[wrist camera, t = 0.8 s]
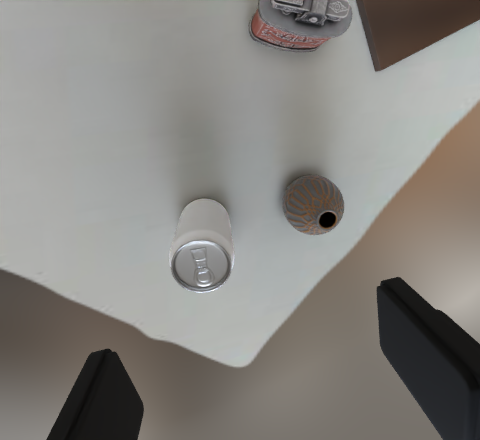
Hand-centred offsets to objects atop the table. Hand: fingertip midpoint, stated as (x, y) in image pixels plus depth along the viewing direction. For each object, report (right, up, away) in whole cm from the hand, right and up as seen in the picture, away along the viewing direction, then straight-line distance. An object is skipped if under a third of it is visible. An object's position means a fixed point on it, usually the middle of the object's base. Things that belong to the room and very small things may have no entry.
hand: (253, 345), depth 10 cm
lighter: (+4, +25, +21) cm, 33 cm away
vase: (+8, +8, +28) cm, 30 cm away
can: (-5, +4, +28) cm, 29 cm away
